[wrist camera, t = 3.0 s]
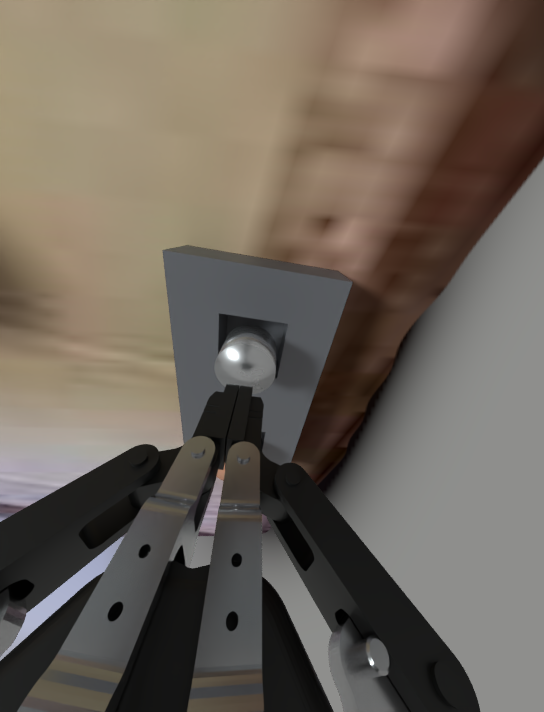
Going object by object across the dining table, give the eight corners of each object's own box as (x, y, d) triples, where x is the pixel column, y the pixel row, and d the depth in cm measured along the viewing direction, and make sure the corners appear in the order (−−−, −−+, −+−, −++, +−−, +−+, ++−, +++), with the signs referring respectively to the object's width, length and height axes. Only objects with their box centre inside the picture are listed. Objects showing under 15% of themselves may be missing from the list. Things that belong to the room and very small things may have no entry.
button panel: (187, 245, 16) (162, 250, 13) (338, 270, 17) (352, 282, 13) (197, 440, 29) (186, 469, 25) (283, 451, 29) (284, 480, 26)
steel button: (225, 320, 15) (214, 339, 13) (280, 329, 15) (280, 349, 13) (223, 366, 17) (214, 390, 15) (272, 372, 17) (270, 398, 15)
